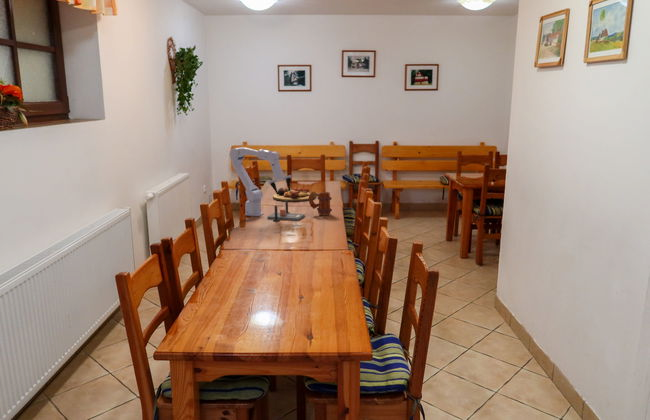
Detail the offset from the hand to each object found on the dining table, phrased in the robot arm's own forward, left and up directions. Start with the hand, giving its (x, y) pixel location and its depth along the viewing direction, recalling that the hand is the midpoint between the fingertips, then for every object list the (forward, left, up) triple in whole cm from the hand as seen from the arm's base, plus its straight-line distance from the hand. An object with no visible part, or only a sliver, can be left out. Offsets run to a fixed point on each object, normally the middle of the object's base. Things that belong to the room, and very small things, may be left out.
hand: (283, 192), depth 311 cm
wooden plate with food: (-16, +63, -16) cm, 67 cm away
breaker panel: (+1, 0, -16) cm, 16 cm away
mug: (+19, +13, -16) cm, 28 cm away
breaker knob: (-1, 0, -14) cm, 14 cm away
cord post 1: (-2, -9, -16) cm, 18 cm away
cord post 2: (-2, +9, -16) cm, 18 cm away
